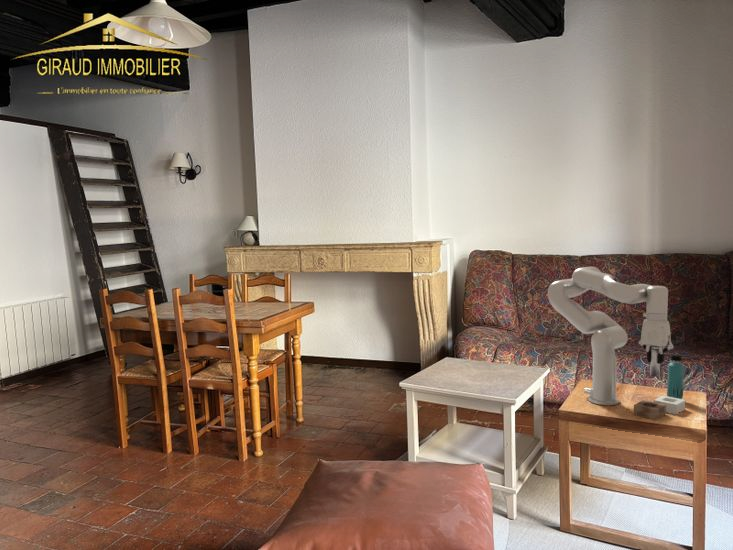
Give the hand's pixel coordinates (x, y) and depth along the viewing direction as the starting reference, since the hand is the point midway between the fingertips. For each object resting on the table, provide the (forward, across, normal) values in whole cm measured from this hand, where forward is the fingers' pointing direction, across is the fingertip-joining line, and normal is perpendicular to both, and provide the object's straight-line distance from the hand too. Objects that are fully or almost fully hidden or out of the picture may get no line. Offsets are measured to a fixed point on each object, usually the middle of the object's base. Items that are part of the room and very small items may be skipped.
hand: (655, 361), depth 245 cm
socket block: (+21, -1, -2) cm, 21 cm away
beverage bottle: (+21, -2, +24) cm, 32 cm away
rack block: (+21, +2, +10) cm, 23 cm away
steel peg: (+5, 0, 0) cm, 5 cm away
